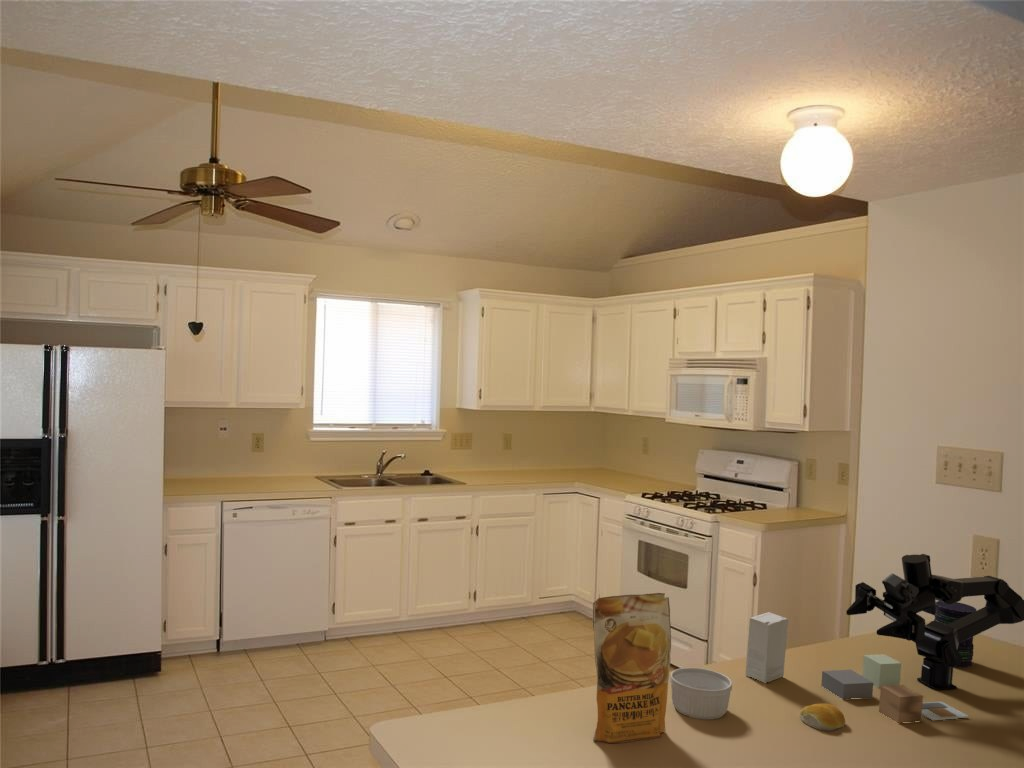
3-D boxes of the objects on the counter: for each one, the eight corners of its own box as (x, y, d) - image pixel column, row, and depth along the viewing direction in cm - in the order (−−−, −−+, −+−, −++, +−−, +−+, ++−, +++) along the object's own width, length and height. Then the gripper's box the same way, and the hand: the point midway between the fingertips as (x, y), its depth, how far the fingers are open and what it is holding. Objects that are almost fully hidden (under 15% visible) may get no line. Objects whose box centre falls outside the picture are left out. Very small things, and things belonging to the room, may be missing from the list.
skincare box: (763, 669, 207) (768, 611, 206) (785, 677, 202) (789, 617, 201) (743, 676, 201) (748, 616, 201) (765, 684, 197) (769, 623, 196)
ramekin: (656, 707, 180) (658, 676, 179) (688, 692, 189) (690, 662, 189) (710, 728, 171) (713, 695, 170) (741, 711, 180) (743, 680, 180)
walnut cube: (901, 710, 186) (903, 684, 186) (920, 722, 180) (923, 695, 180) (878, 712, 184) (880, 686, 184) (898, 724, 179) (900, 697, 179)
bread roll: (851, 726, 176) (853, 708, 176) (825, 735, 171) (826, 716, 171) (818, 711, 183) (819, 693, 183) (792, 719, 178) (793, 701, 178)
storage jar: (980, 669, 217) (984, 613, 216) (942, 666, 217) (947, 610, 216) (960, 655, 227) (964, 601, 226) (924, 653, 227) (928, 599, 226)
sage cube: (882, 677, 206) (884, 654, 206) (899, 687, 200) (901, 663, 200) (861, 679, 204) (863, 655, 204) (878, 688, 199) (880, 664, 199)
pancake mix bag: (577, 731, 165) (586, 593, 164) (659, 722, 172) (668, 589, 171) (592, 747, 159) (601, 603, 158) (677, 736, 166) (686, 599, 165)
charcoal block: (849, 685, 200) (850, 669, 200) (872, 699, 192) (873, 682, 192) (821, 687, 198) (822, 670, 198) (842, 701, 190) (843, 684, 190)
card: (941, 703, 192) (941, 700, 192) (968, 718, 184) (969, 715, 184) (905, 705, 189) (905, 702, 189) (932, 721, 181) (932, 718, 181)
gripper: (881, 555, 205) (832, 574, 199) (946, 590, 188) (894, 612, 183) (880, 594, 208) (832, 614, 203) (943, 632, 192) (893, 655, 186)
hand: (861, 622), depth 193 cm, fingers open, 9 cm apart
